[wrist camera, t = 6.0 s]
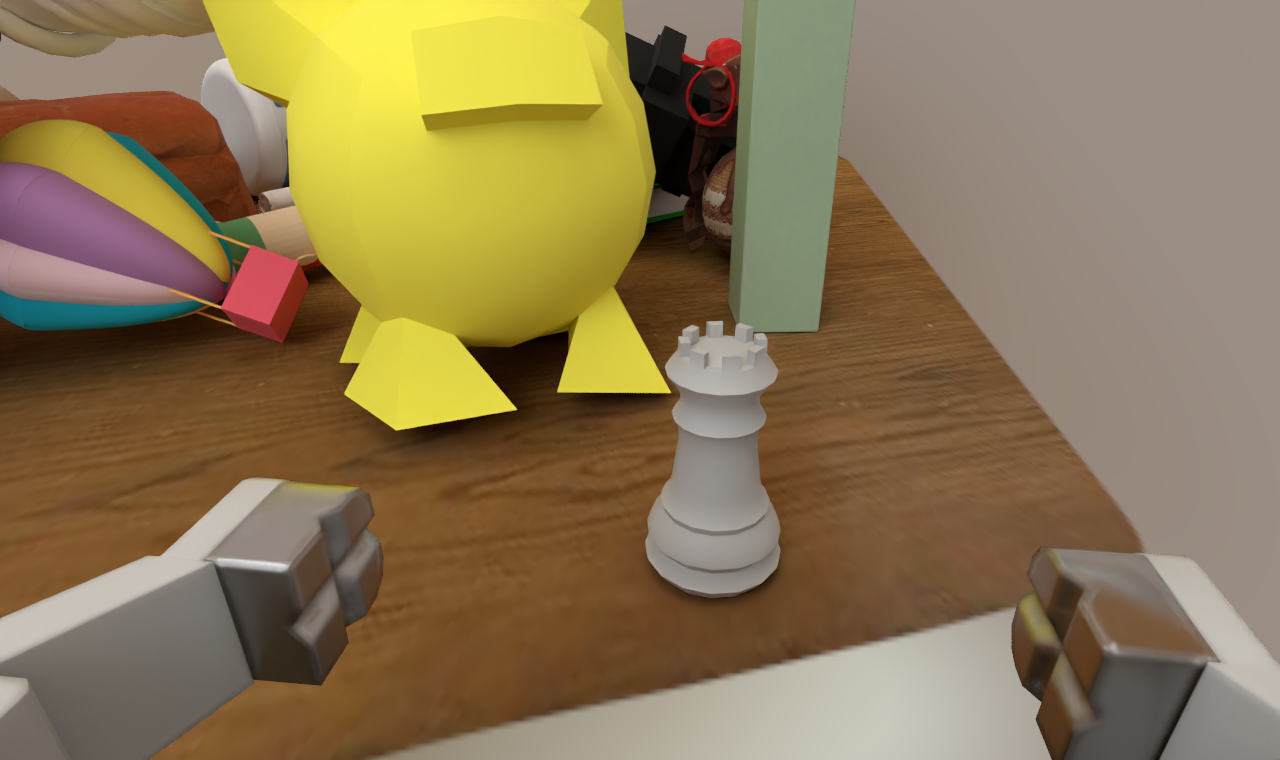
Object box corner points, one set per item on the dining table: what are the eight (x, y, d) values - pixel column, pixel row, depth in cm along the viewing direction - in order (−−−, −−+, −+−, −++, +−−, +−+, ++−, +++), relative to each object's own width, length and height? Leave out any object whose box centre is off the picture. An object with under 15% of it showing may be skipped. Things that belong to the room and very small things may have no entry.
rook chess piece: (618, 551, 25) (612, 333, 21) (713, 500, 27) (723, 298, 24) (709, 628, 22) (721, 390, 18) (807, 563, 24) (836, 342, 21)
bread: (279, 244, 56) (244, 96, 51) (-218, 332, 42) (-333, 137, 37) (232, 205, 67) (200, 81, 62) (-174, 264, 53) (-258, 107, 48)
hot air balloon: (-170, 251, 29) (-15, 327, 40) (217, 377, 32) (268, 417, 43) (-24, 34, 33) (85, 157, 43) (317, 166, 35) (341, 251, 46)
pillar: (801, 303, 45) (844, -130, 35) (818, 332, 41) (872, -147, 31) (728, 303, 45) (750, -129, 35) (738, 333, 41) (766, -146, 31)
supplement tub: (218, 195, 72) (370, 172, 84) (277, 203, 65) (435, 177, 77) (182, 60, 68) (349, 56, 79) (242, 53, 60) (416, 50, 72)
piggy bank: (601, 271, 50) (590, -59, 41) (747, 397, 34) (780, -99, 25) (281, 317, 43) (185, -68, 34) (275, 501, 27) (93, -131, 18)
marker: (423, 176, 78) (423, 154, 76) (436, 182, 77) (436, 160, 75) (259, 212, 65) (255, 186, 64) (273, 219, 64) (269, 193, 63)
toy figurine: (195, 346, 44) (379, 287, 51) (179, 292, 41) (379, 236, 48) (142, 263, 47) (323, 217, 54) (124, 207, 44) (319, 166, 51)
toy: (791, 73, 54) (601, -19, 51) (789, 141, 49) (579, 44, 46) (719, 187, 63) (553, 115, 60) (711, 254, 58) (530, 180, 55)
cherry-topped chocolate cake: (663, 262, 52) (665, 25, 45) (717, 234, 58) (726, 22, 51) (789, 287, 47) (812, 27, 40) (833, 254, 53) (860, 23, 46)
